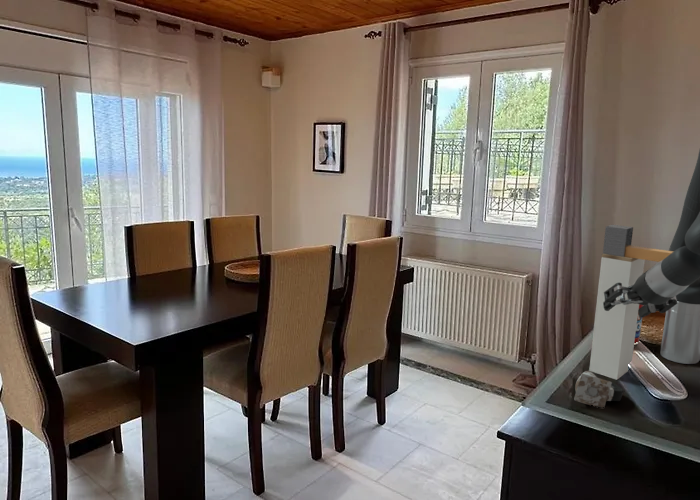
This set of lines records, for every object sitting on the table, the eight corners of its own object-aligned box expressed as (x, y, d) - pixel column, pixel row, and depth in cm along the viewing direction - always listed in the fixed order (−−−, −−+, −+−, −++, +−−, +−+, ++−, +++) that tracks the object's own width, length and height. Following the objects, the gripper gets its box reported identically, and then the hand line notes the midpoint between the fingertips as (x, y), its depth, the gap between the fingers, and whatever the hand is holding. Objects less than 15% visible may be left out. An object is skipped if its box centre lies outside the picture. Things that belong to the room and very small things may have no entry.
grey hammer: (675, 261, 118) (679, 232, 117) (669, 264, 116) (673, 234, 114) (609, 251, 129) (612, 224, 128) (602, 253, 127) (605, 226, 125)
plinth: (630, 368, 135) (645, 252, 128) (616, 379, 128) (631, 258, 121) (603, 360, 140) (616, 248, 133) (589, 370, 133) (601, 254, 126)
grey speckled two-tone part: (611, 400, 123) (625, 416, 114) (564, 386, 125) (574, 401, 116) (619, 375, 123) (634, 388, 113) (572, 361, 125) (582, 374, 115)
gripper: (693, 272, 111) (649, 302, 125) (629, 260, 111) (592, 291, 125) (699, 302, 107) (653, 330, 121) (633, 290, 107) (595, 319, 121)
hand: (622, 310), depth 123 cm, fingers open, 8 cm apart
